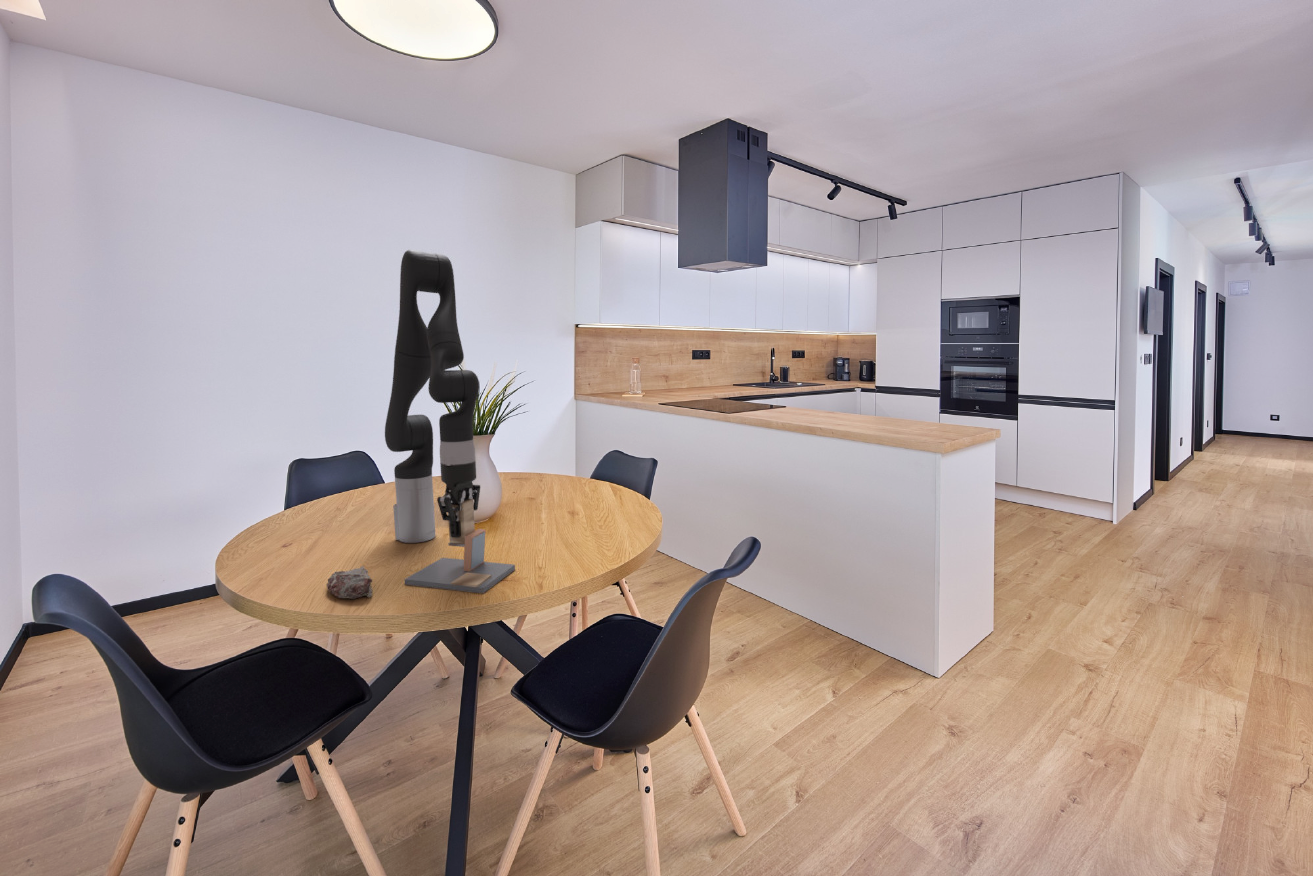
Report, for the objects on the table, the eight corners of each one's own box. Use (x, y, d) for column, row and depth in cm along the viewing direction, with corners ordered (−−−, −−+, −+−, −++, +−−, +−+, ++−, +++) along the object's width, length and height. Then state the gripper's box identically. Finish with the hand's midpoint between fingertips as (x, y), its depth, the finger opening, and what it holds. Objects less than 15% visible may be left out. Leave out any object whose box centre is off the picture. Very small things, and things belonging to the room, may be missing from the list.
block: (448, 545, 135) (446, 502, 134) (459, 539, 139) (457, 497, 138) (465, 547, 134) (463, 503, 133) (476, 541, 138) (474, 498, 137)
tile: (463, 570, 134) (464, 536, 133) (477, 561, 140) (479, 528, 139) (470, 571, 134) (471, 537, 133) (484, 562, 140) (486, 529, 138)
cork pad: (451, 584, 127) (451, 582, 127) (466, 574, 133) (466, 572, 133) (476, 587, 125) (476, 585, 125) (491, 576, 131) (491, 574, 131)
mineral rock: (325, 585, 130) (323, 565, 129) (365, 577, 134) (364, 558, 134) (331, 610, 118) (329, 588, 117) (375, 600, 122) (373, 580, 121)
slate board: (404, 584, 130) (404, 579, 130) (442, 562, 143) (442, 557, 143) (483, 593, 125) (483, 587, 125) (515, 569, 139) (514, 564, 138)
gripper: (461, 453, 142) (464, 524, 144) (423, 465, 128) (428, 542, 131) (489, 455, 140) (492, 526, 142) (454, 466, 126) (458, 545, 129)
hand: (461, 533), depth 136 cm, fingers closed on block, 4 cm apart
